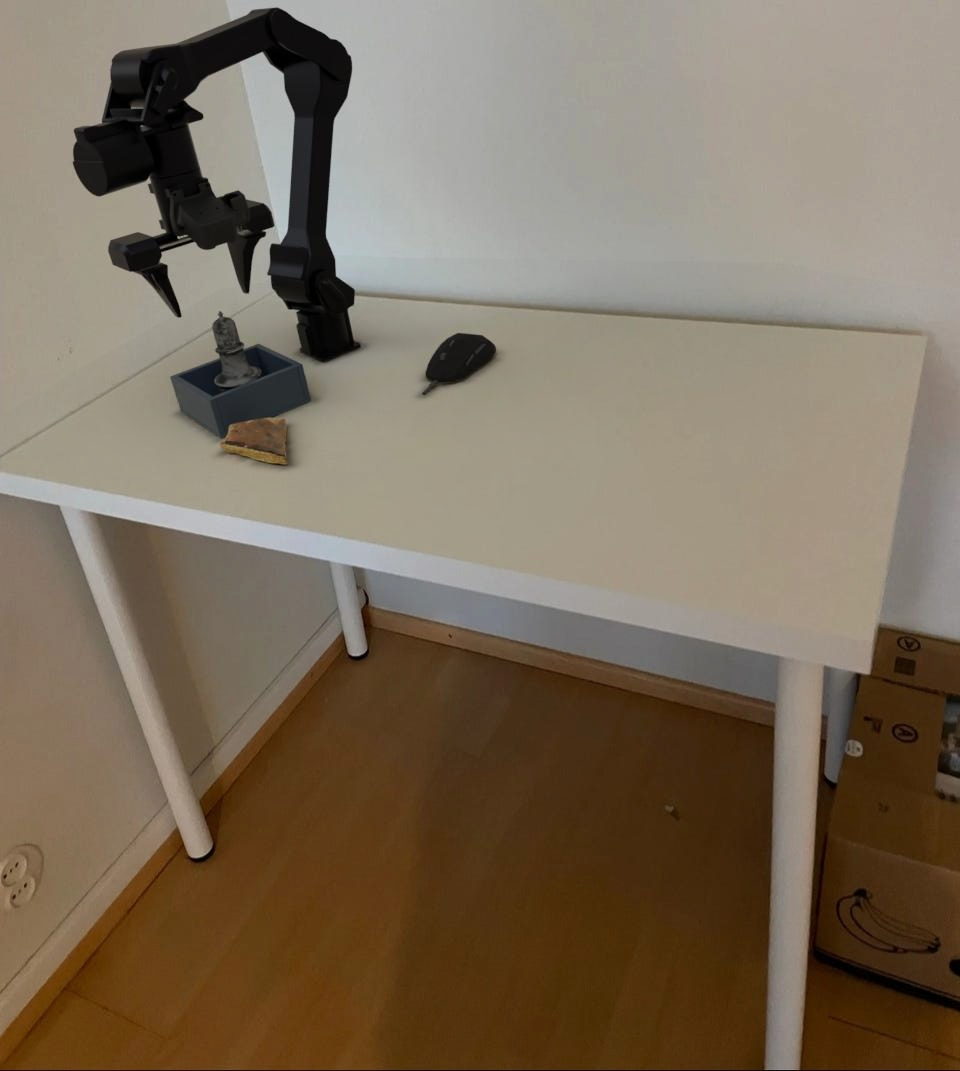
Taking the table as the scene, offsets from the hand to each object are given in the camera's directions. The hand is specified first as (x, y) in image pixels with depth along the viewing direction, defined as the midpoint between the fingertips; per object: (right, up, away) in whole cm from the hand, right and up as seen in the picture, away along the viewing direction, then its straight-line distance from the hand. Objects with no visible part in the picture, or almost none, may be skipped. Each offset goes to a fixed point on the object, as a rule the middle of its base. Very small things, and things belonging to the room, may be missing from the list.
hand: (213, 304), depth 117 cm
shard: (+8, -18, -6) cm, 20 cm away
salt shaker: (+3, -11, +5) cm, 13 cm away
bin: (+3, -12, +4) cm, 13 cm away
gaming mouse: (+29, -7, +6) cm, 31 cm away
